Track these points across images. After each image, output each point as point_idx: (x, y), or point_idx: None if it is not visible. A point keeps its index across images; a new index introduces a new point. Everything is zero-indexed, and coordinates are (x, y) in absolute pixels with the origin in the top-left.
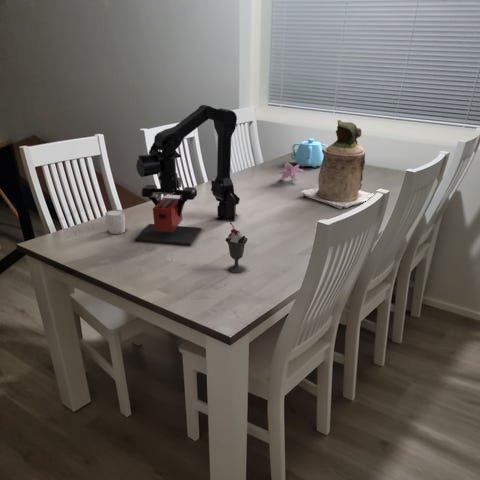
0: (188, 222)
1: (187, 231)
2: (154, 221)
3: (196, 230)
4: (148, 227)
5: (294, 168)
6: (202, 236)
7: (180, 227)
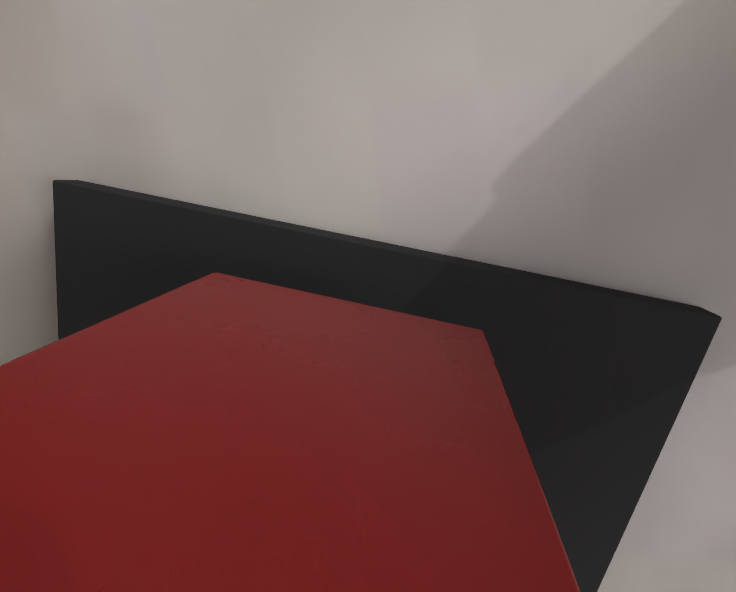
0: (540, 5)
1: (531, 430)
2: None
3: (648, 407)
4: (82, 300)
5: None
6: (691, 479)
7: (442, 306)
